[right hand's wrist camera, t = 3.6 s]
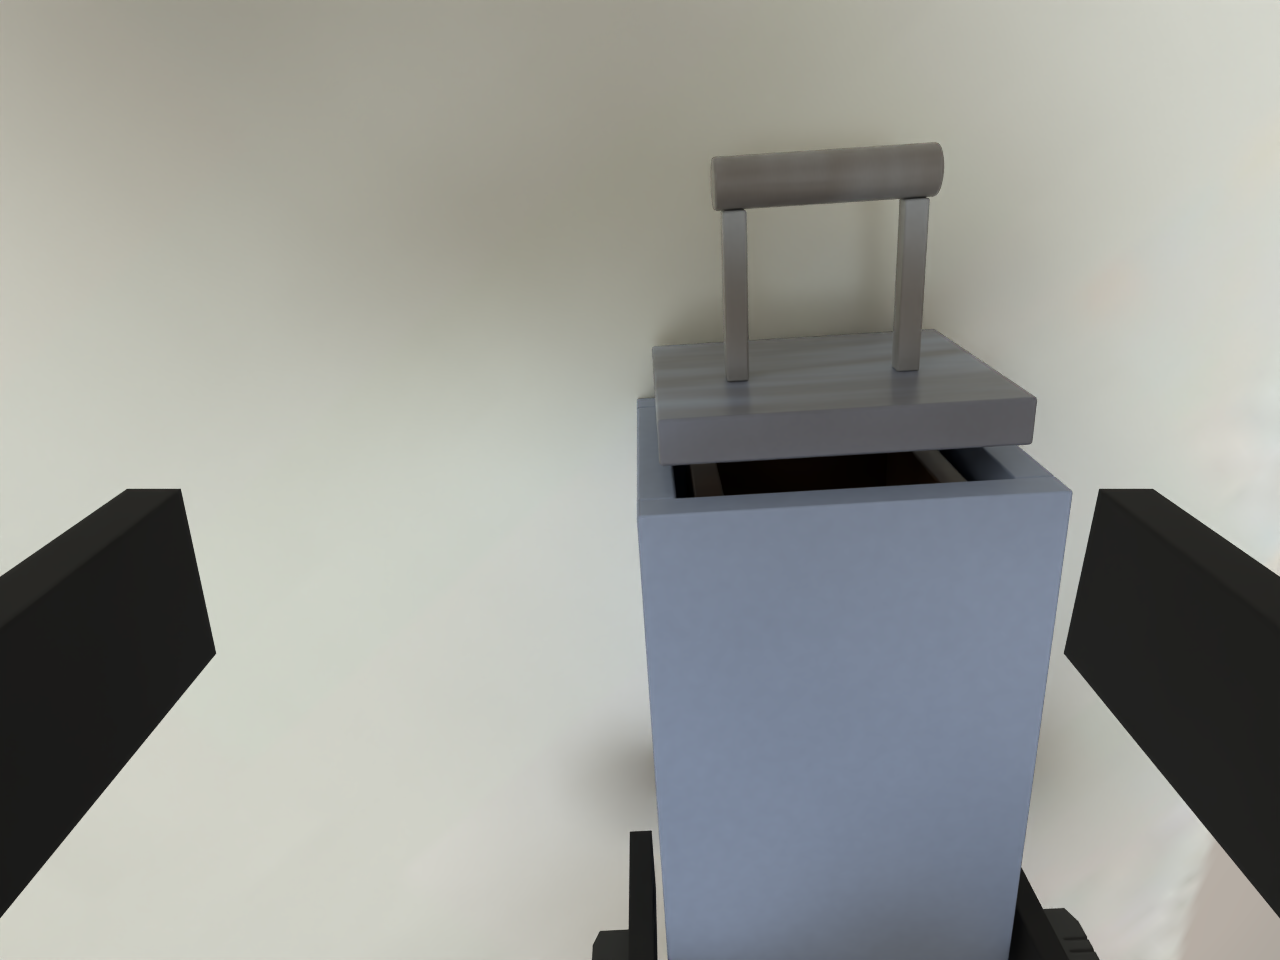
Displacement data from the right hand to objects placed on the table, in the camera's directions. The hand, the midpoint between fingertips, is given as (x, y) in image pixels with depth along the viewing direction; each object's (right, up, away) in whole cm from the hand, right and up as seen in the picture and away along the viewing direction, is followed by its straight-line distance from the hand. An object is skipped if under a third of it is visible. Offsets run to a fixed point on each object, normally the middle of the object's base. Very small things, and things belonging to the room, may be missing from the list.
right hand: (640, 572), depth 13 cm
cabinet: (+6, -5, +20) cm, 21 cm away
